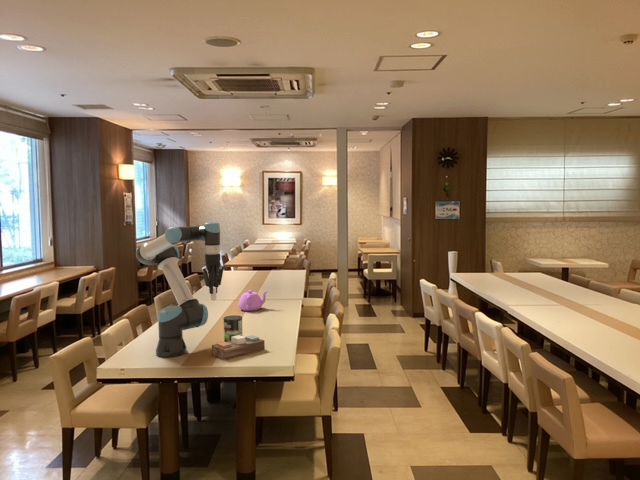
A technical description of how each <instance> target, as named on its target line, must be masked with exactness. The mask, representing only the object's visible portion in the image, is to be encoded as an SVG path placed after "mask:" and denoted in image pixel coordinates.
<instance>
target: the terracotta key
mask: <svg viewBox="0 0 640 480" xmlns="http://www.w3.org/2000/svg"><path fill="white" fill-rule="evenodd" d="M216 344H217V346H218V347H220V348H223V349H224V348H228V347H231V344H230V343H227V342H224V341H221V342H218V343H216Z"/></svg>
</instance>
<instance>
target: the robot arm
mask: <svg viewBox="0 0 640 480" xmlns="http://www.w3.org/2000/svg"><path fill="white" fill-rule="evenodd" d="M220 226H221V225H220V222H205V223H204V224H203V225H196V224H195V225H191V226H189V225H188V226H172V227H168V228H166V230H165V233H164V234H162V235H159V236H158V237H156V238H155V239H152V240H151V241H150V242H144V243H142V244H141V245H139V246H138V247H137V248H136V251H135V256H136V259H137V261H138V262H140V263H141V264H143V265H146V266H147V265H149V266H152V265H156V266H157V268H158V269H159V270H160V271H162V272H163V274H164V276H165V279H166V281H167V283H168V285H169V287H170V289H171V291H172V294H173V296H174V297H175V300H176V302H177V305H170V306H166V307H163V308H162V309H160V310H159V311H158V315H157V322H158V341H157V346H156V348H155V355H156V357H161V358H173V357H179V356H182V355H184V354H186V353H187V351H188V349H187V344H186V342H185V340H184V337H183V331H187V330H190V329H191V330H192V329H195V328H200V327H203V326H204V325H206V324H207V321H208V319H209V311H208V307H207V305H206V304H204V303H200V301H199V300H198V298H195V297H194V295H193V294H192V292H191V290H190V288H189V286H188V283H187V281H186V280H185V277H184V274H183V273H182V271H181V269H180V267H179V265H178V263H179V259H180V251H179V248H178V246H177V245H178V244H180V243H182V242H183V243H184V242H185V243H186V242H200V241H203V242H204V253H205V254H204V261H205V264H204V266H203V267H201V268H200V272H202V275H203V276H202V277H203V280H204V285H205V287H208V288H209V289H208V291H209V294H210V300H211V301H217V293H218V288H219V286H221V284H222V280H223V274H224V271H225V266H223V265H222V263H221V229H220V228H221V227H220Z"/></svg>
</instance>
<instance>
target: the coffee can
mask: <svg viewBox="0 0 640 480" xmlns="http://www.w3.org/2000/svg"><path fill="white" fill-rule="evenodd" d="M237 335H240V336H243V337H244V334H243V316H242V315H226V316H224V317H223V342H228V341H231V337H232V336H237Z"/></svg>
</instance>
